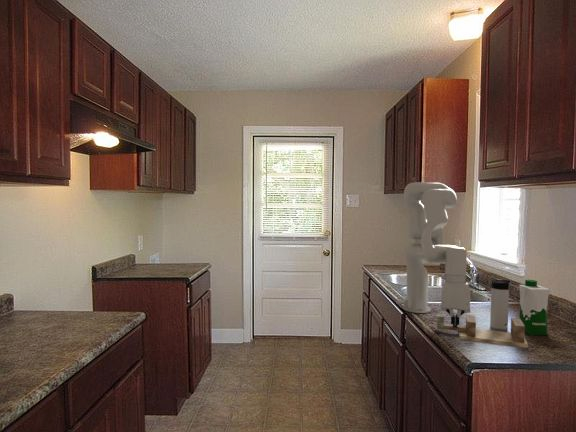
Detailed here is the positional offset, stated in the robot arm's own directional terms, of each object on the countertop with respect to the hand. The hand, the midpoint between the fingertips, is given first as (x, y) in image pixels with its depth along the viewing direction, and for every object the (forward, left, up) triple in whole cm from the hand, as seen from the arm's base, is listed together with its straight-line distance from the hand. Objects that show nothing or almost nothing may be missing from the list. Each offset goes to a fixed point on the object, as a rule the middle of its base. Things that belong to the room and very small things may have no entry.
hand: (455, 326), depth 151 cm
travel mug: (+17, +14, -3) cm, 22 cm away
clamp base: (+13, +1, -3) cm, 13 cm away
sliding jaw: (0, +1, -2) cm, 2 cm away
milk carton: (+29, +16, -3) cm, 33 cm away
